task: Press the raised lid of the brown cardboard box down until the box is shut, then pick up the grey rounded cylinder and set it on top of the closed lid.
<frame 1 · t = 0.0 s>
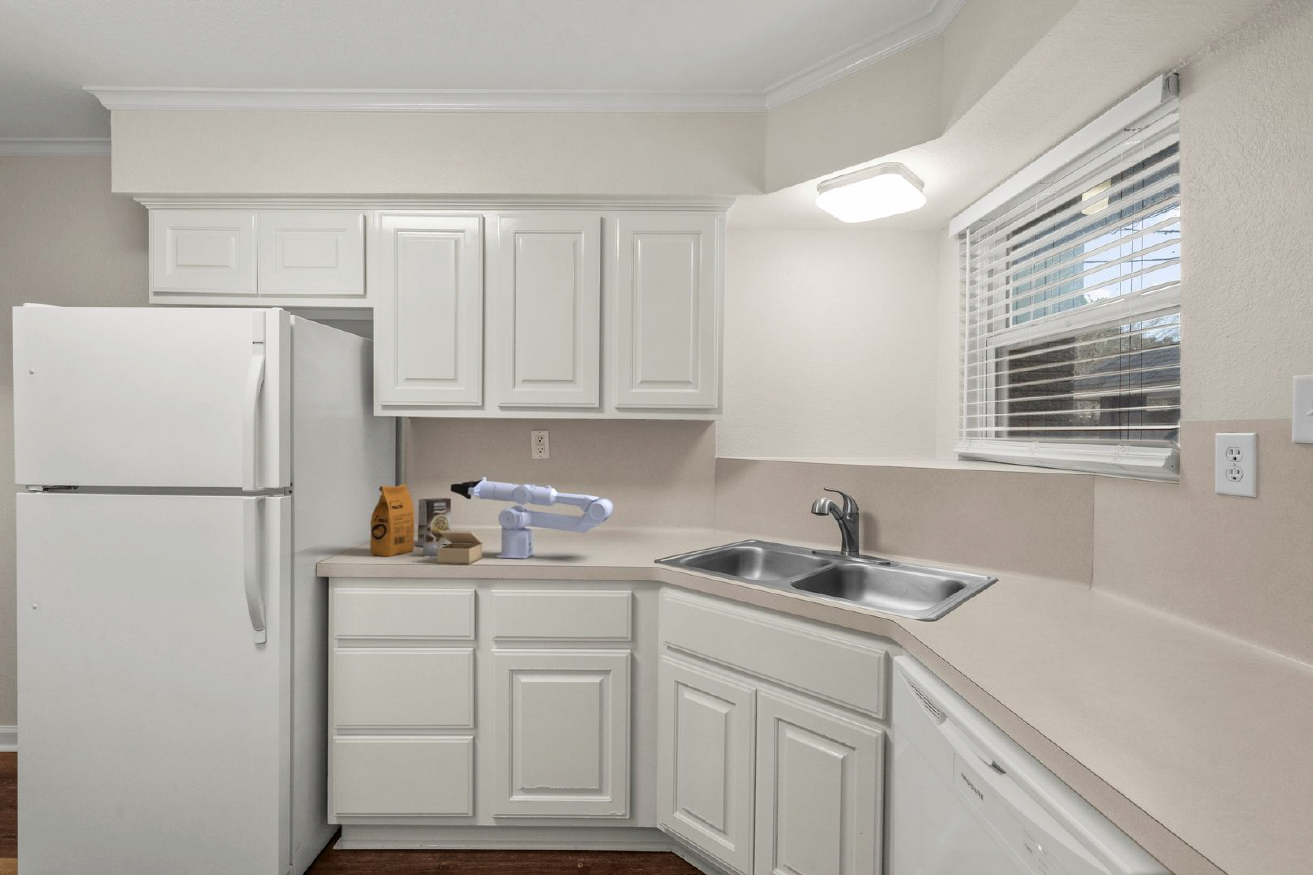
hand: (456, 486, 194), 22 cm above the countertop, tool horizontal, fingers open, 7 cm apart
coffee package: (392, 553, 194), on the countertop
box: (460, 561, 183), on the countertop
lid: (461, 537, 184), point 7 cm above the countertop, hinge at 30.0°
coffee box: (434, 545, 209), on the countertop
grey rounded cylinder: (431, 555, 192), on the countertop
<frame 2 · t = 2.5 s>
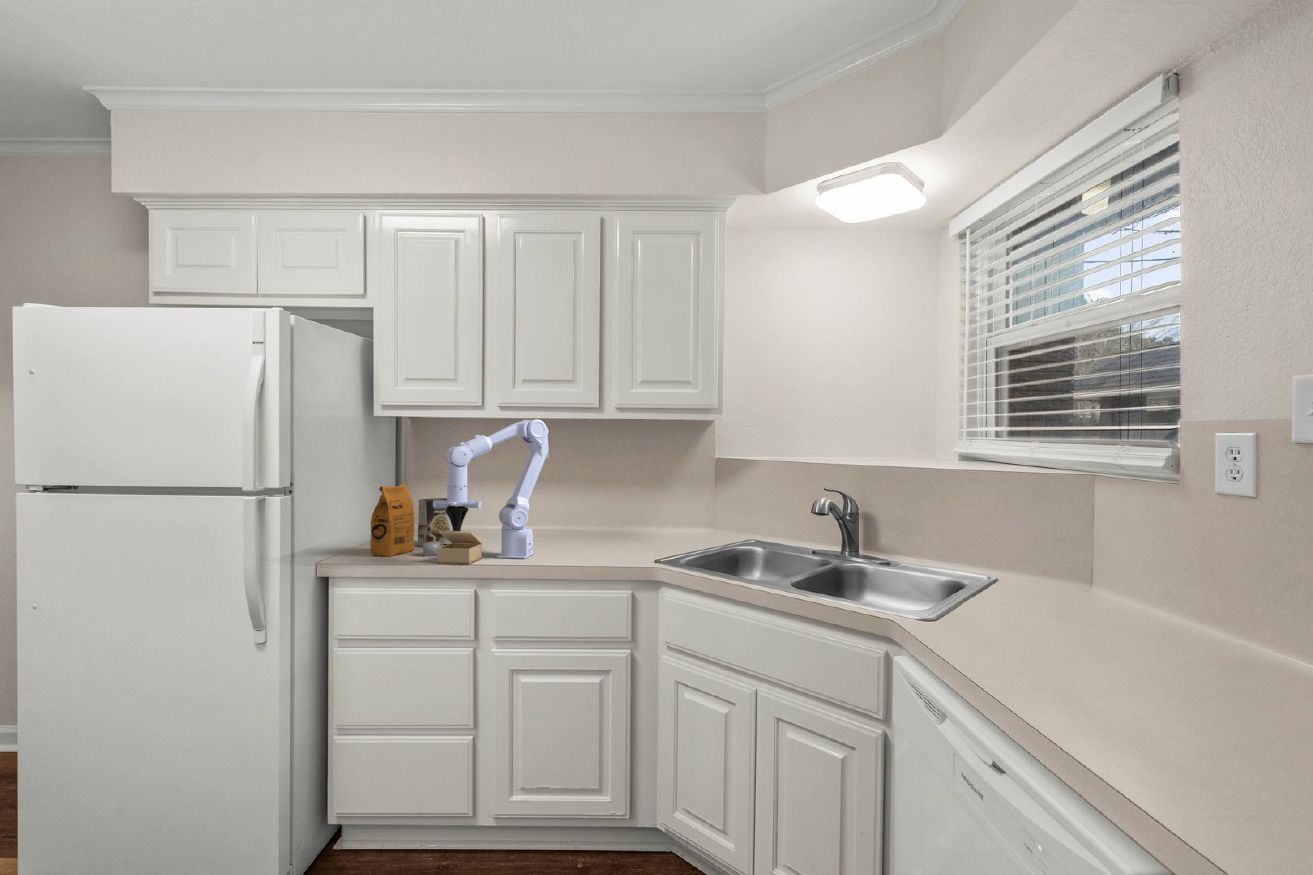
hand: (456, 531, 181), 9 cm above the countertop, tool pointing down, fingers closed, pressing on lid
lid: (461, 537, 184), point 7 cm above the countertop, hinge at 29.7°, touching gripper
everything else where it was.
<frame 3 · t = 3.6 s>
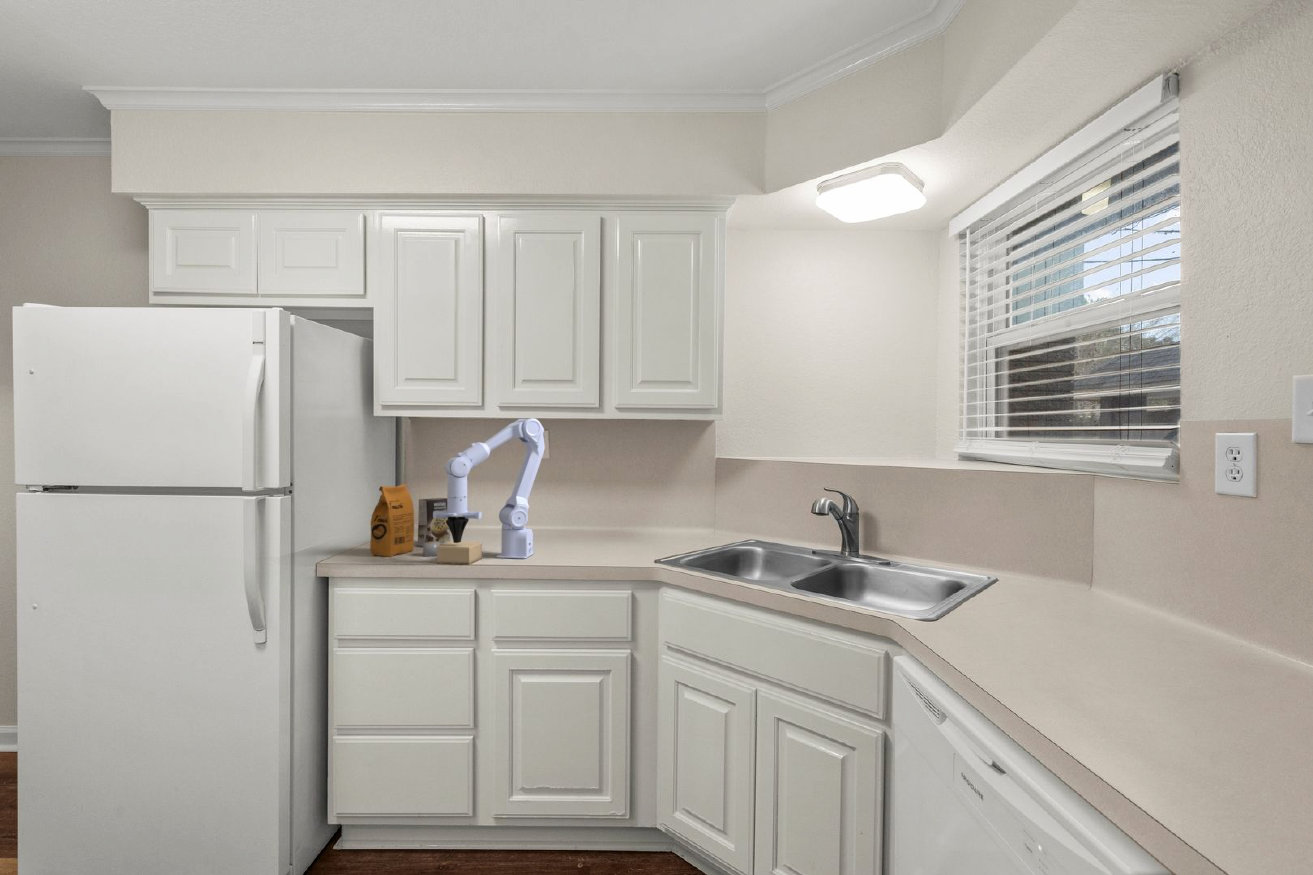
hand: (457, 542, 181), 6 cm above the countertop, tool pointing down, fingers closed
lid: (459, 545, 183), point 5 cm above the countertop, hinge at -0.2°
everything else where it was.
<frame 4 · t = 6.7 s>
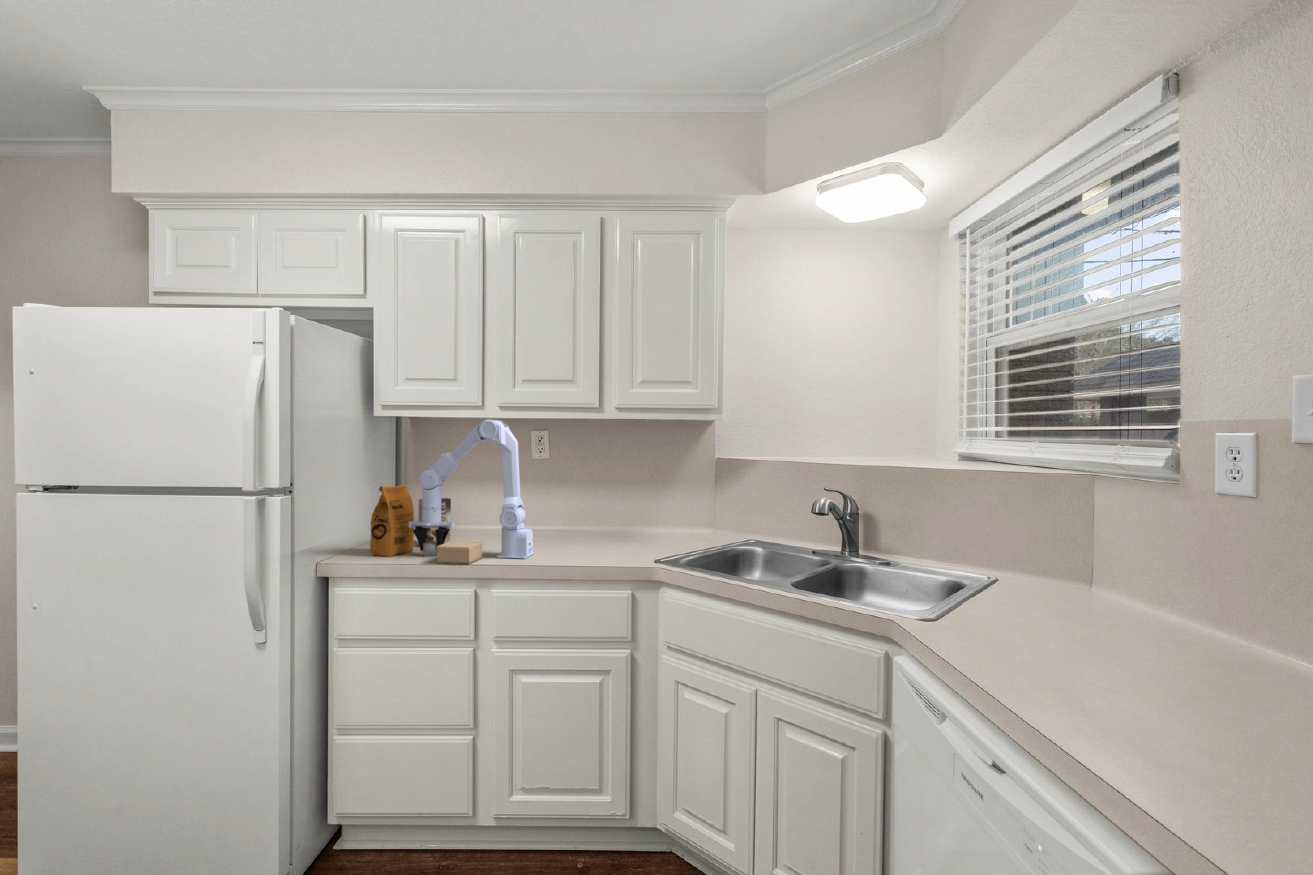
hand: (431, 550, 192), 1 cm above the countertop, tool pointing down, fingers closed on grey rounded cylinder, 5 cm apart
grey rounded cylinder: (431, 555, 192), on the countertop, touching gripper
everything else where it was.
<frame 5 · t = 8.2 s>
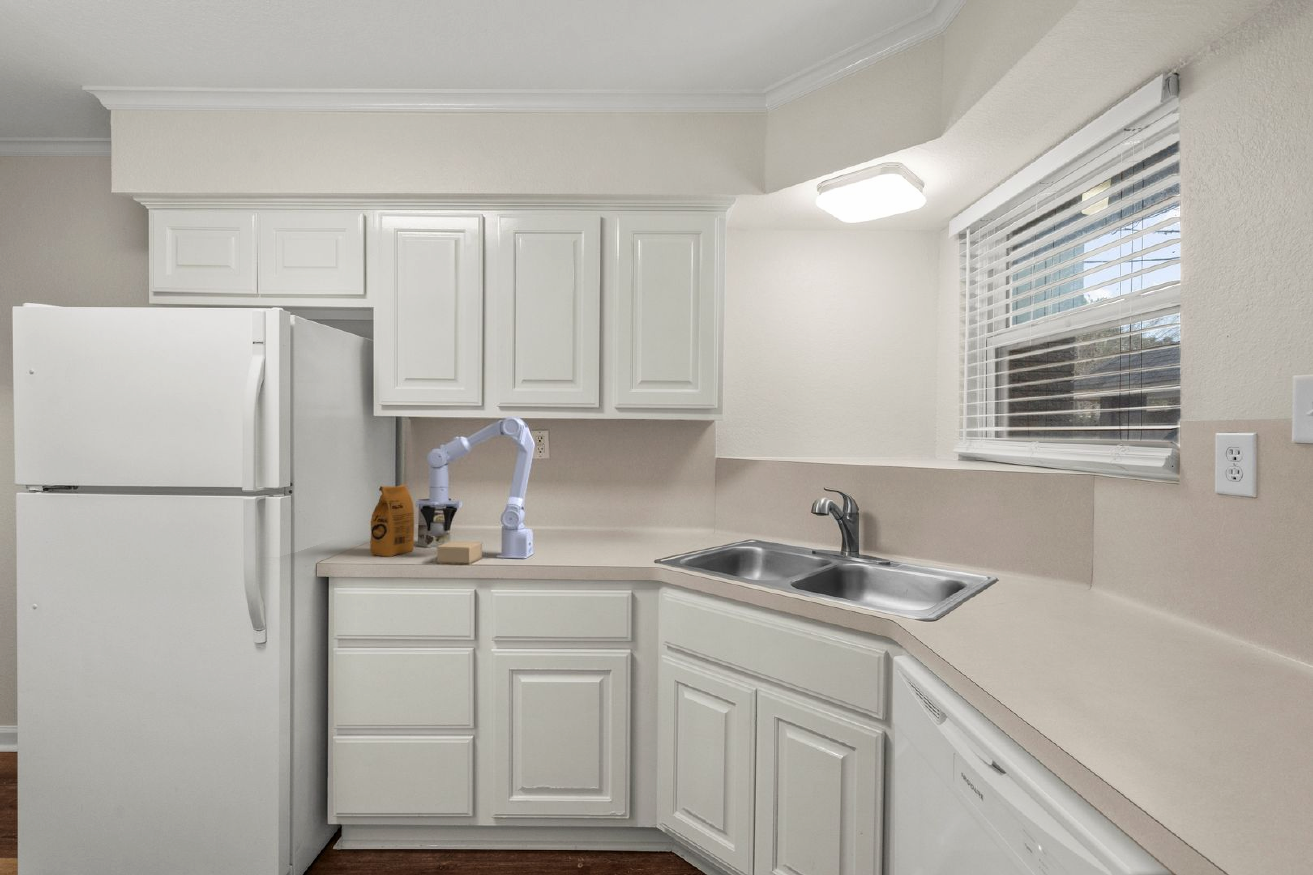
hand: (439, 530, 189), 8 cm above the countertop, tool pointing down, fingers closed on grey rounded cylinder, 5 cm apart
grey rounded cylinder: (438, 534, 189), point 7 cm above the countertop, touching gripper
everything else where it was.
when the fingers open (8 cm above the countertop, at t = 9.7 s): grey rounded cylinder drops 1 cm, resting on lid.
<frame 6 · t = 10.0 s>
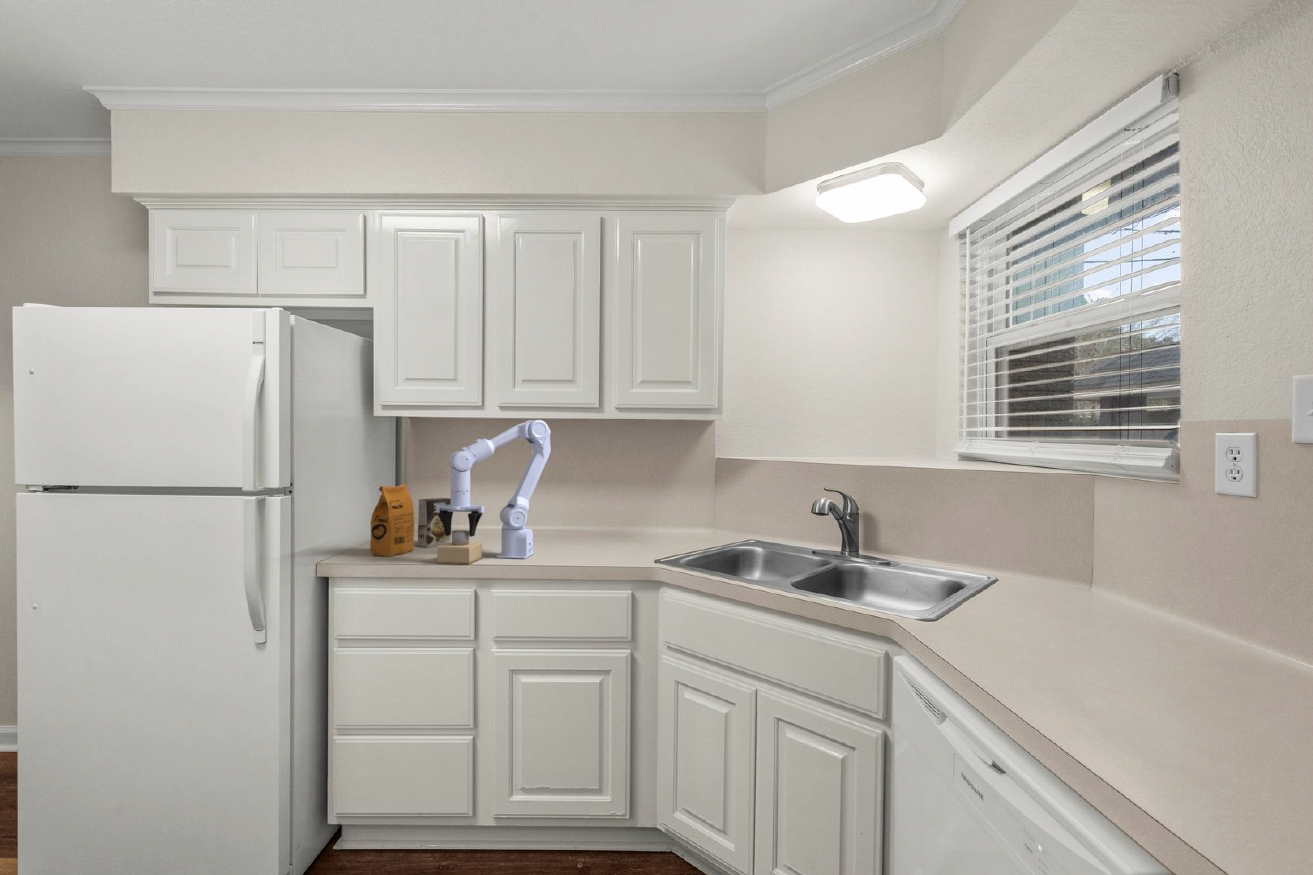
hand: (460, 535, 183), 8 cm above the countertop, tool pointing down, fingers open, 7 cm apart
lid: (459, 545, 183), point 5 cm above the countertop, hinge at -0.2°, touching grey rounded cylinder
grey rounded cylinder: (460, 544, 183), point 5 cm above the countertop, touching lid
everything else where it was.
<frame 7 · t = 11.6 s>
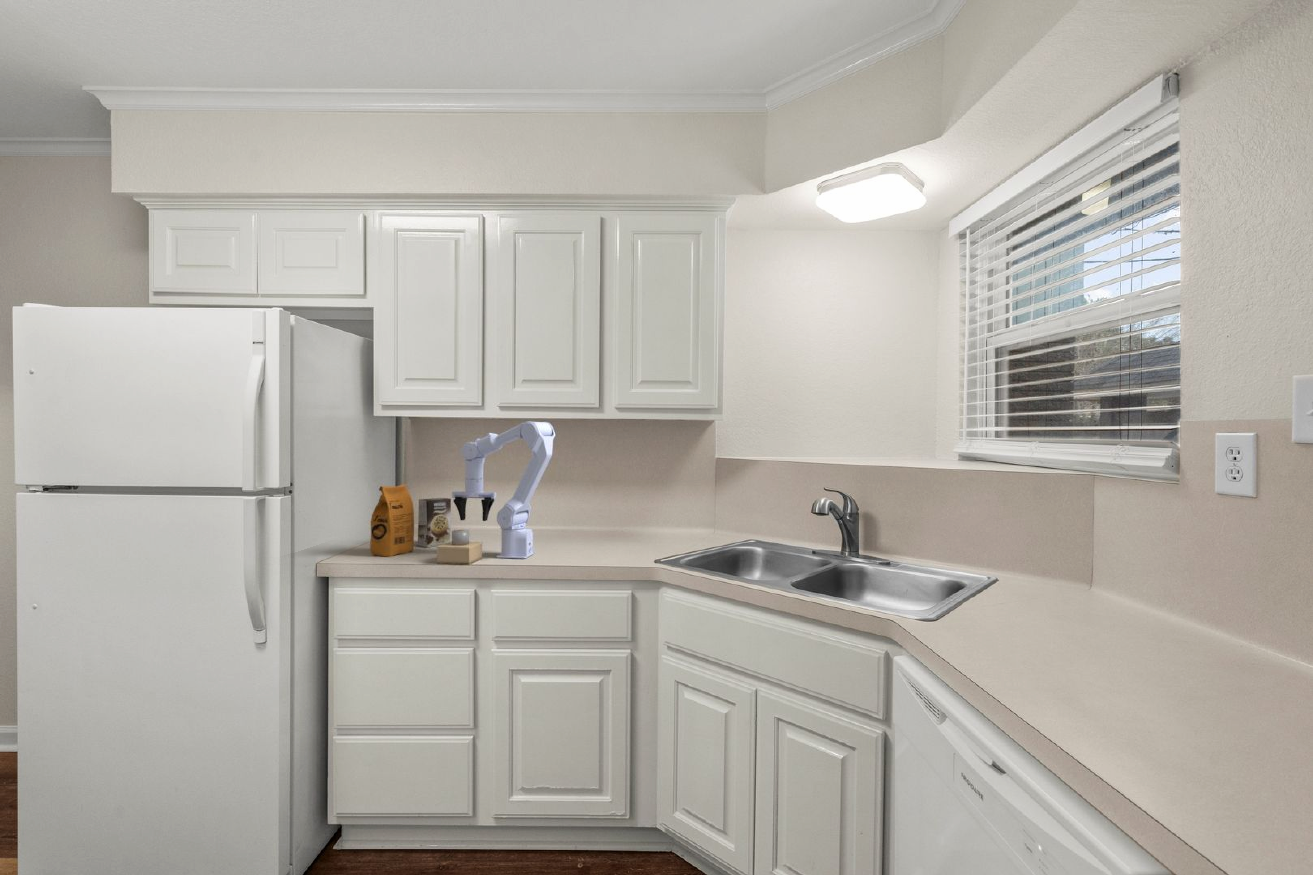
hand: (473, 520, 197), 10 cm above the countertop, tool pointing down, fingers open, 7 cm apart
nothing on the countertop moved.
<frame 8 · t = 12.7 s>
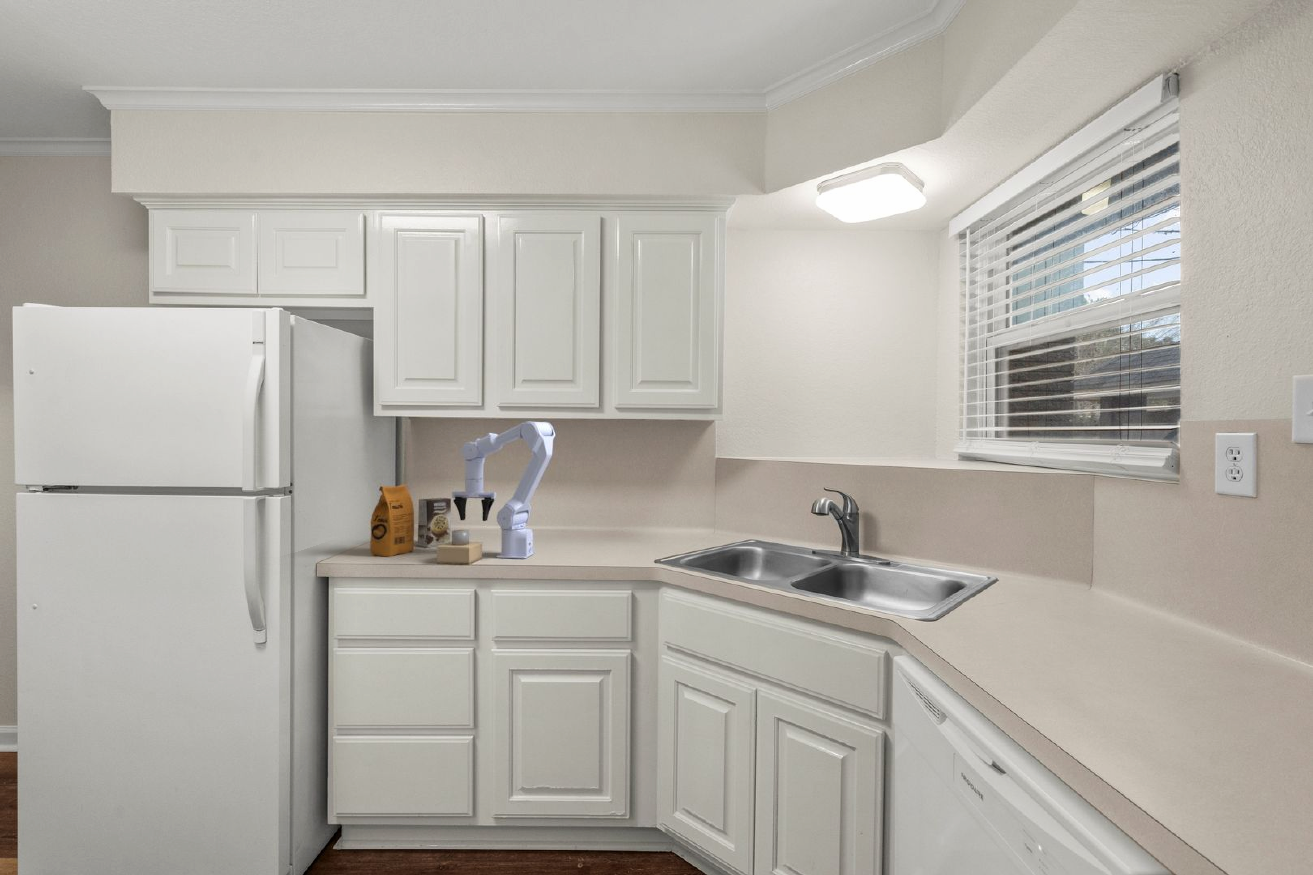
hand: (473, 520, 197), 10 cm above the countertop, tool pointing down, fingers open, 7 cm apart
nothing on the countertop moved.
at the end: lid at +0° (first picture: +30°); grey rounded cylinder inside the target area on the box (0.6 cm from its centre), point 5.1 cm above the box's base; grey rounded cylinder tilted 0° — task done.
